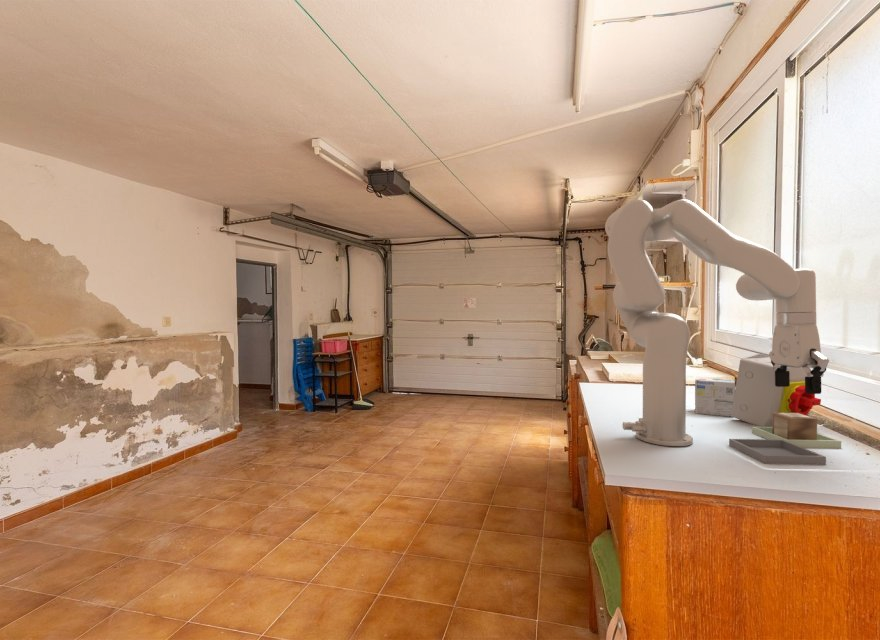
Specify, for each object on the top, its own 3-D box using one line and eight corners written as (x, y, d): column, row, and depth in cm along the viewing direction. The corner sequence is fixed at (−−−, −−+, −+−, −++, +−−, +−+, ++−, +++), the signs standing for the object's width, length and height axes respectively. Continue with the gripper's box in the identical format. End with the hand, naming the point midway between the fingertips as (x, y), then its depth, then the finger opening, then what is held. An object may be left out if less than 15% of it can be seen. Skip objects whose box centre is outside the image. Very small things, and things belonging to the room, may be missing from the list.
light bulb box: (734, 413, 135) (735, 379, 134) (735, 417, 129) (736, 382, 129) (695, 409, 140) (695, 376, 140) (694, 413, 135) (694, 379, 135)
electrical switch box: (786, 442, 111) (800, 367, 108) (729, 420, 125) (740, 354, 122) (820, 436, 117) (834, 365, 114) (762, 416, 130) (773, 352, 127)
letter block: (789, 443, 102) (789, 417, 102) (771, 436, 108) (771, 412, 108) (816, 443, 101) (817, 418, 101) (797, 436, 107) (797, 412, 107)
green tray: (786, 448, 99) (786, 440, 99) (752, 434, 111) (752, 426, 111) (841, 449, 98) (841, 441, 98) (800, 435, 110) (800, 427, 110)
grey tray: (764, 465, 88) (764, 455, 88) (729, 447, 100) (729, 438, 100) (825, 466, 88) (826, 456, 88) (782, 448, 100) (782, 439, 99)
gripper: (755, 319, 113) (757, 384, 113) (807, 321, 96) (809, 397, 96) (785, 319, 113) (786, 383, 113) (843, 320, 95) (844, 396, 96)
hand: (797, 389), depth 104 cm, fingers open, 9 cm apart
